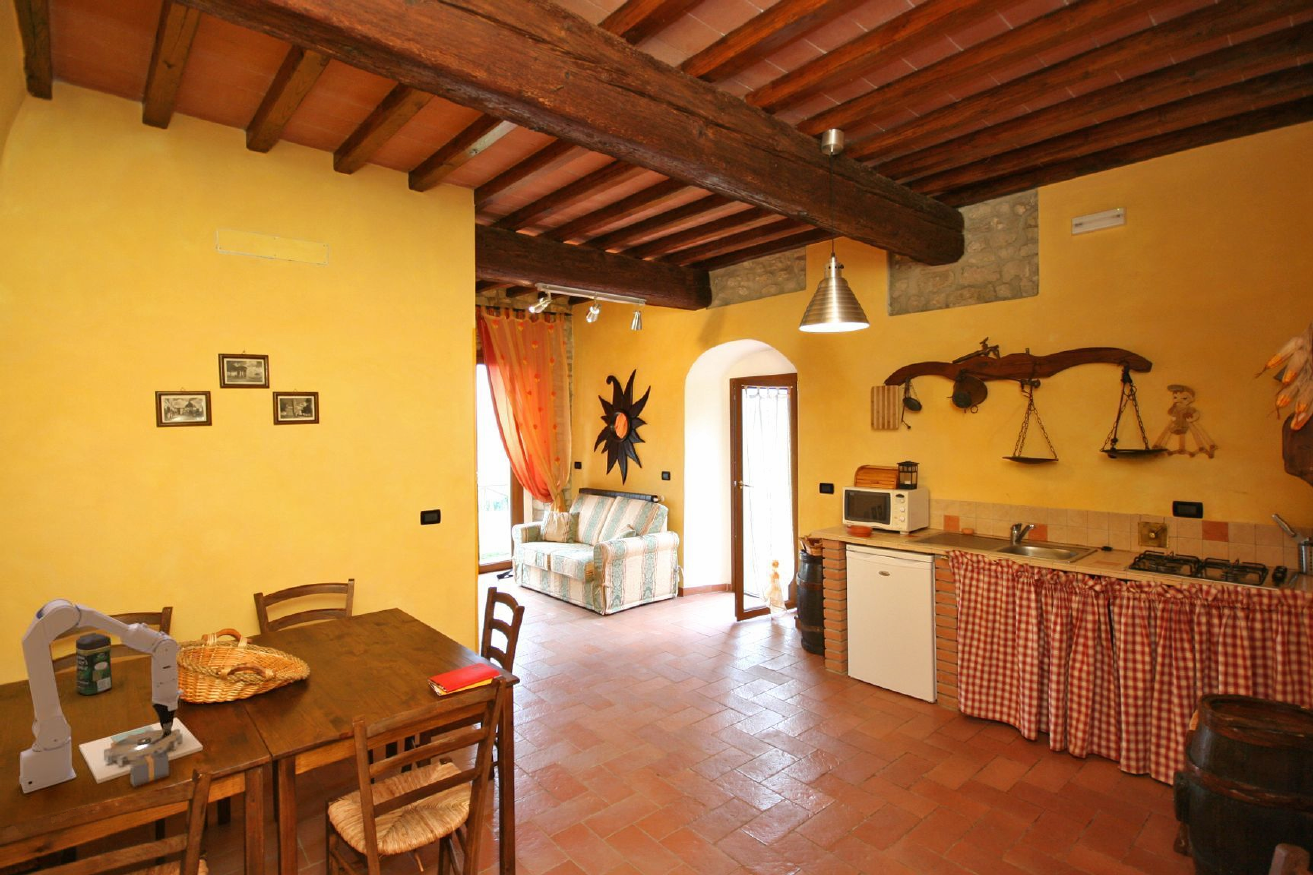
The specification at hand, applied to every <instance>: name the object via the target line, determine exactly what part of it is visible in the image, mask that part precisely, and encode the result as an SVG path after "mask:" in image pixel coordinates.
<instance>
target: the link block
mask: <svg viewBox="0 0 1313 875" xmlns="http://www.w3.org/2000/svg"><path fill="white" fill-rule="evenodd" d="M129 774H130V784H131V785H132V787H133V788H136V787H139V786H142V785H144V784H143V783H145V784H147V783H146V782H148V783H150V782H149V781H152V780H154V781H156V779H157V780H160V779H163V778H166V777H168V776H170V775H169V774H170V773H169V761H168V755H167V754H166V752H162V753H158V754H155V755H152V756H148V757H145V758H142V759H139V760H136V761H133V762H130V773H129ZM152 782H153V781H152ZM141 784H142V785H141ZM138 785H139V786H138Z"/></svg>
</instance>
